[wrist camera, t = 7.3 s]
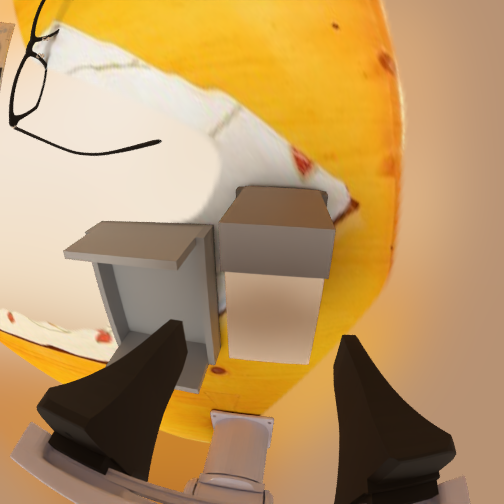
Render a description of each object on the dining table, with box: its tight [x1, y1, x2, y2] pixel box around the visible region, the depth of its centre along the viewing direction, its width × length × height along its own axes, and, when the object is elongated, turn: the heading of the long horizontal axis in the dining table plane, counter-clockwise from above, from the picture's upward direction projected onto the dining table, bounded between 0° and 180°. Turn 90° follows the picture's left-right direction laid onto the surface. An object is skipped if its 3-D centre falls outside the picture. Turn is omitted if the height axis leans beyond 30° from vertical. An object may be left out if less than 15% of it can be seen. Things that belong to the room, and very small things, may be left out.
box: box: [219, 186, 335, 364], centre depth 16 cm, size 8×5×7 cm, turn 179°
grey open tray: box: [63, 221, 221, 394], centre depth 21 cm, size 12×10×6 cm
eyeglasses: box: [9, 0, 162, 156], centre depth 14 cm, size 16×16×4 cm
